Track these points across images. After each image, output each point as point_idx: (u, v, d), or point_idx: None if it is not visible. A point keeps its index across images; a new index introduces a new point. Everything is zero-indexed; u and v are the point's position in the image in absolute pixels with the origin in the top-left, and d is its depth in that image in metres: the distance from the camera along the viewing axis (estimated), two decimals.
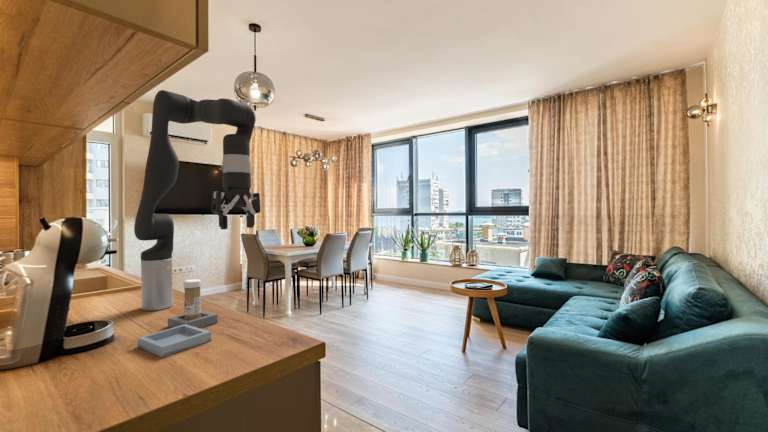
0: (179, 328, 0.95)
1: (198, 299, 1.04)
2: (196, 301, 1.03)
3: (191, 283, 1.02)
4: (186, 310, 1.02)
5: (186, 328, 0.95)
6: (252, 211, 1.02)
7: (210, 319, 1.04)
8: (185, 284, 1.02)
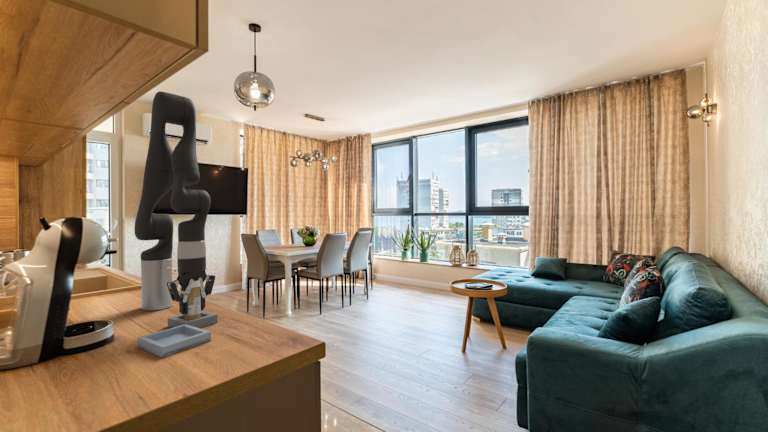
0: (179, 328, 0.95)
1: (198, 299, 1.04)
2: (196, 301, 1.03)
3: None
4: None
5: (186, 328, 0.95)
6: (202, 295, 1.06)
7: (210, 319, 1.04)
8: None
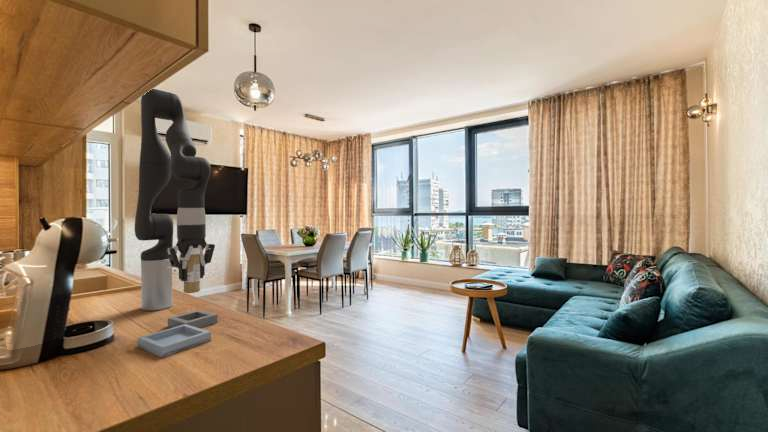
0: (179, 328, 0.95)
1: (197, 266, 1.04)
2: (195, 268, 1.03)
3: None
4: None
5: (186, 328, 0.95)
6: (202, 262, 1.06)
7: (210, 319, 1.04)
8: None
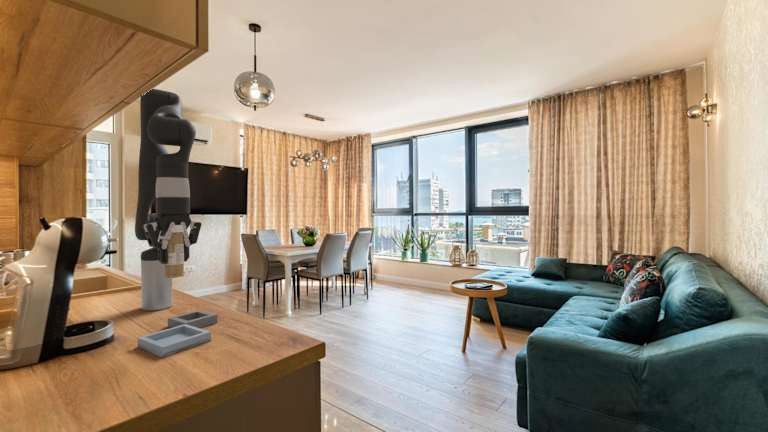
0: (179, 328, 0.95)
1: (180, 247, 0.88)
2: (177, 249, 0.88)
3: None
4: None
5: (186, 328, 0.95)
6: (186, 243, 0.90)
7: (210, 319, 1.04)
8: None
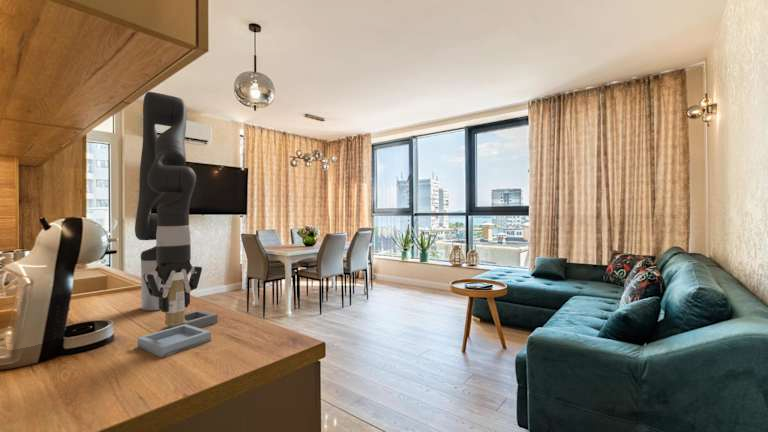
0: (179, 328, 0.95)
1: (181, 294, 0.89)
2: (178, 296, 0.88)
3: None
4: None
5: (186, 328, 0.95)
6: (186, 289, 0.91)
7: (210, 319, 1.04)
8: None
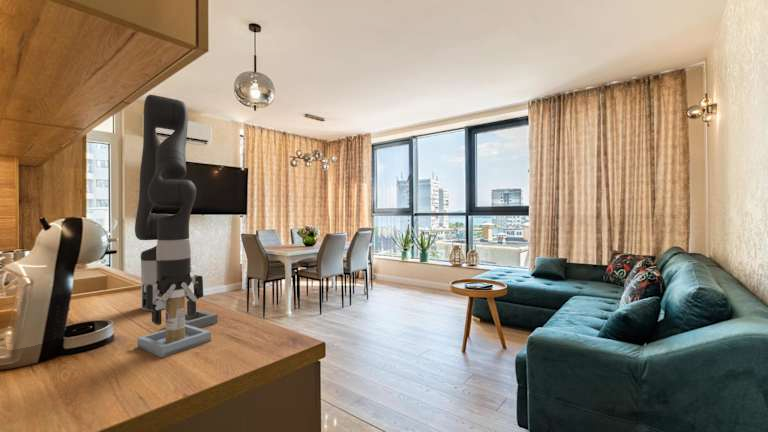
0: None
1: (182, 311, 0.89)
2: (179, 313, 0.88)
3: (173, 292, 0.87)
4: (167, 324, 0.87)
5: (186, 328, 0.95)
6: (192, 298, 0.92)
7: (210, 319, 1.04)
8: None
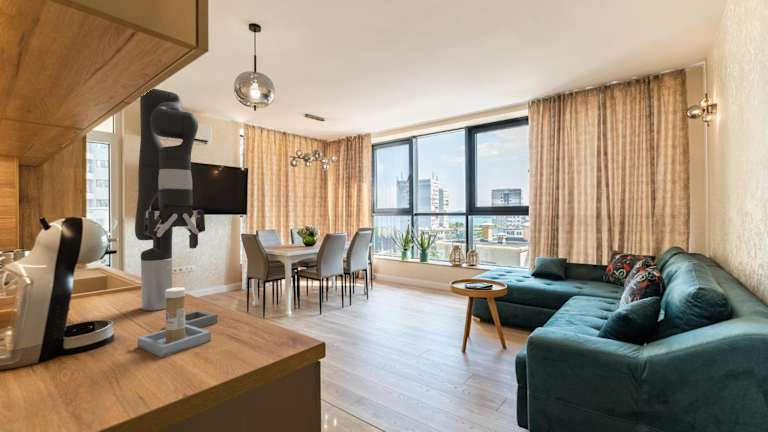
0: None
1: (182, 311, 0.89)
2: (179, 313, 0.88)
3: (173, 292, 0.87)
4: (167, 324, 0.87)
5: (186, 328, 0.95)
6: (195, 230, 0.93)
7: (210, 319, 1.04)
8: (166, 294, 0.87)
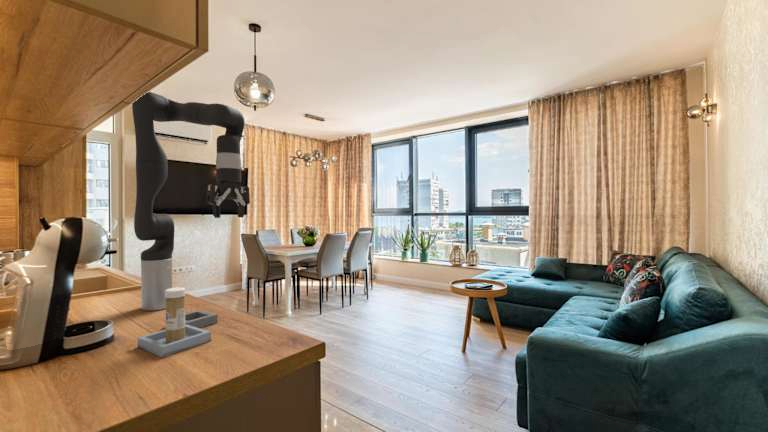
0: None
1: (182, 311, 0.89)
2: (179, 314, 0.88)
3: (173, 292, 0.87)
4: (167, 324, 0.87)
5: (186, 328, 0.95)
6: (242, 202, 1.16)
7: (210, 319, 1.04)
8: (166, 294, 0.87)
